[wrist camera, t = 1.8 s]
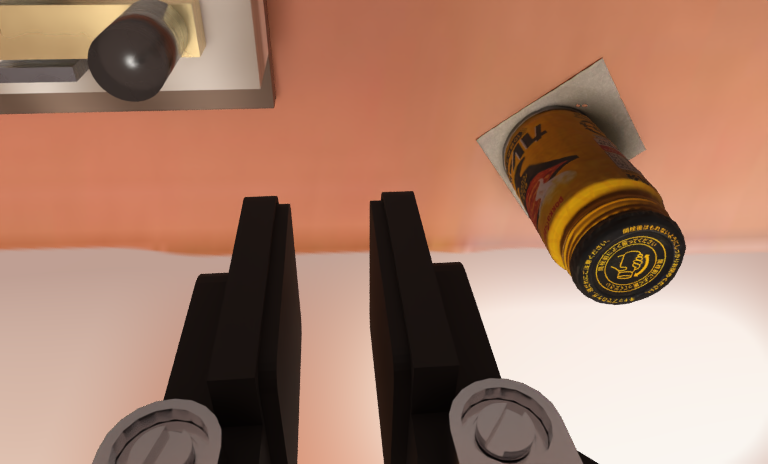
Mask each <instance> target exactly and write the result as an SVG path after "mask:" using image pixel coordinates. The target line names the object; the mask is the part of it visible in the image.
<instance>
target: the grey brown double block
mask: <svg viewBox="0 0 768 464" xmlns="http://www.w3.org/2000/svg"><path fill="white" fill-rule="evenodd" d="M199 4H200V10H201V16H202V22H203V29H204V35H205V41H206V47H205V49H204V51H203V53H202V55H201V57H180V59H179V61H178V62H177V64H176V66H175V67H174V69H173V70H172V72H171V74H170V75H169V77H168V79H167V80H166V82H165V83H164V85H163V87H162V88H161V90H160V91H159V92H158V93H157V94H156V95H155V96H154V97H152V98H150V99H148V100H145V101H139V102H130V101H125V100H121V99H119V98H116V97H114V96H112V95H110V94H109V93H107V92H106V91H105V90H104V89H102V88H101V87H100V86H99V84H98V83H97V82H96V81H95V79H94V78H93V76H92V74H91V72H90V69H89V70H88V71H87V72H86V73H85V74H84V75H83V76H82V77H81V78H80V79H79V80H78V81H77V82H38V83H0V114H32V113H77V112H123V111H168V110H213V109H259V108H274V106H275V99H276V95H275V85H274V75H273V64H272V54H271V44H270V34H269V24H268V14H267V3H266V0H199ZM87 60H88V59H87ZM1 61H3V60H0V62H1Z"/></svg>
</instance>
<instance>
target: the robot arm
mask: <svg viewBox="0 0 768 464" xmlns="http://www.w3.org/2000/svg"><path fill="white" fill-rule="evenodd" d="M370 332H371V340H372V341H371V342H372V351H373V361H374V371H375V380H376V390H377V400H378V409H379V419H380V428H381V438H382V447H383V457H384V464H598V463H597V462H595V461H593V460H592V459H590V458H588V457H587V456H585V455H583V454H582V453H580V452H579V451H577V450H576V448H575V445H574V443H573V441H572V439H571V437H570V435H569V433H568V430H567V428H566V426H565V424H564V422H563V420H562V418H561V416H560V414H559V413H558V412H557V410H556V408H555V407H554V405H553V404H552V403H551V402H550V401H549V400H548V399H547V398H546V397H545V396H543V395H542V394H541V393H540V392H539V391H537V390H535V389H533V388H531V387H529V386H527V385H526V384H524V383H520V382H516V381H513V380H509V379H501V376H500V373H499V370H498V367H497V364H496V361H495V358H494V355H493V352H492V349H491V346H490V343H489V340H488V337H487V334H486V331H485V328H484V325H483V322H482V320H481V317H480V313H479V310H478V307H477V305H476V302H475V298H474V296H473V292H472V290H471V287H470V284H469V280H468V278H467V274H466V272H465V269H464V267H463V265H462V263H460V262H450V263H432V260H431V256H430V252H429V249H428V245H427V241H426V237H425V233H424V230H423V226H422V222H421V218H420V214H419V211H418V207H417V203H416V199H415V196H414V193H413V191H405V192H382V194H381V201H370ZM301 334H302V333H301V313H300V302H299V291H298V281H297V270H296V259H295V249H294V238H293V227H292V217H291V207H290V204H279V202H278V197H277V196H263V197H245V198H244V200H243V205H242V210H241V215H240V220H239V225H238V230H237V234H236V239H235V244H234V249H233V254H232V259H231V264H230V269H229V273H212V274H200V275H199V276H198V278H197V280H196V283H195V287H194V291H193V294H192V298H191V302H190V305H189V309H188V312H187V316H186V320H185V323H184V327H183V331H182V334H181V338H180V342H179V345H178V349H177V353H176V356H175V360H174V364H173V367H172V371H171V375H170V378H169V382H168V386H167V389H166V393H165V396H164V400H163V401H157V402H154V403H151V404H149V405H146V406H143V407H141V408H138V409H137V410H135V411H134V412H132V413H131V414H129V415H127V416H126V417H124V418H123V419H121V420H120V421H119V422H118V423H117V424H116V426H114V428H112V430H110V431H109V432H108V434H107V435H106V437H105V438H104V440H103V442H102V443H101V445H100V447H99V449H98V450H97V453H96V455H95V458H94V460H93V463H92V464H297V454H298V424H299V394H300V366H301V364H300V363H301Z"/></svg>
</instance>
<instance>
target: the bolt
mask: <svg viewBox="0 0 768 464" xmlns="http://www.w3.org/2000/svg"><path fill="white" fill-rule="evenodd" d="M205 47H206V41H205V35H204V29H203V22H202V16H201V10H200V4H199V0H0V60H36V59H88V66H89V69H90V72H91V74H92V76H93V78H94V79H95V81H96V82H97V83H98V84H99V86H100V87H101V88H102V89H104V90H105V91H106V92H107V93H109V94H110V95H112V96H114V97H116V98H119V99H121V100H125V101H130V102H139V101H145V100H148V99H150V98H152V97H154V96H155V95H156V94H157V93H158V92H159V91H160V90H161V88H162V87H163V85H164V83H165V82H166V80H167V79H168V77H169V75H170V74H171V72H172V70H173V69H174V67H175V66H176V64H177V62H178V61H179V59H180V57H201V55H202V53H203V51H204V49H205Z"/></svg>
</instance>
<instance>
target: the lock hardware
mask: <svg viewBox="0 0 768 464" xmlns="http://www.w3.org/2000/svg"><path fill="white" fill-rule="evenodd" d="M88 70H89V66H88V60H87V59H36V60H3V61H1V62H0V83H38V82H77V81H78V80H79V79H80V78H81V77H82V76H83V75H84V74H85V73H86V72H87V71H88Z"/></svg>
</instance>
